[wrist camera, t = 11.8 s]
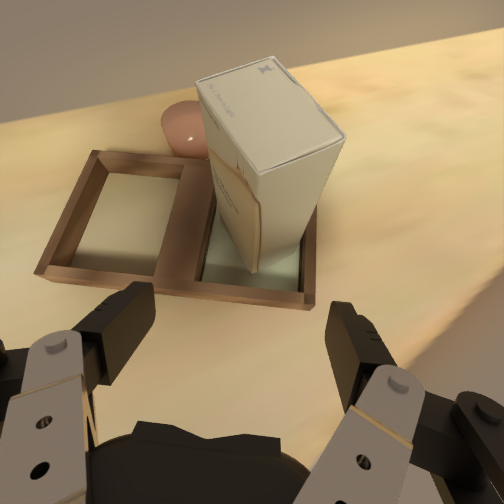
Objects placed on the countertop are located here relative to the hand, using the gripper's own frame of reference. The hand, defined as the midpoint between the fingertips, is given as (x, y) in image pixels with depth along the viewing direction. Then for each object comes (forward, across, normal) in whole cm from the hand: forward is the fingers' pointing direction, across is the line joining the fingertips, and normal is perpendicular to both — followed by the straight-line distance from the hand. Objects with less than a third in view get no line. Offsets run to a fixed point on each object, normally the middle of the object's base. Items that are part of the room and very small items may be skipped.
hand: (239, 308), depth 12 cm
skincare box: (+11, 0, 0) cm, 11 cm away
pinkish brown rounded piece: (+19, +7, -7) cm, 21 cm away
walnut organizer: (+12, +5, 0) cm, 13 cm away
